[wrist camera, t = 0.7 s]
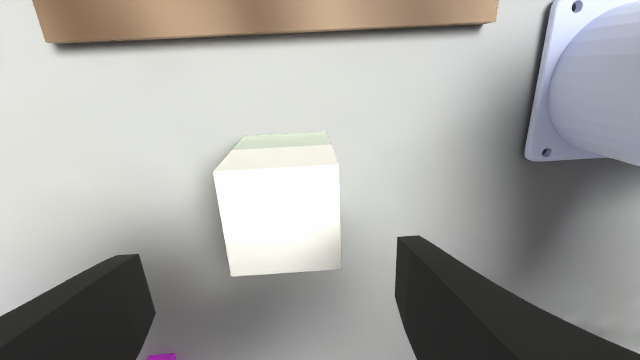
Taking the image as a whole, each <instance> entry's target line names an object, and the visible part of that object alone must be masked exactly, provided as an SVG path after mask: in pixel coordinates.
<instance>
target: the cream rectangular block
mask: <svg viewBox="0 0 640 360" xmlns="http://www.w3.org/2000/svg"><path fill="white" fill-rule="evenodd" d="M213 175H214V181H215V187H216V192H217V198H218V204H219V210H220V216H221V221H222V227H223V233H224V239H225V244H226V250H227V256H228V262H229V268H230V273H231V277H234V276H248V275H263V274H278V273H293V272H308V271H322V270H337V269H341V235H340V199H339V164H338V161H337V158H336V156H335V153H334V150H333V147H332V144H331V141H330V138H329V135H328V132H327V131H321V132H303V133H285V134H267V135H249V136H243V137H242V139H241V140H240V141H239V142H238V143H237V144H236V146H235V147H234V148H233V149H232V150H231V151H230V153H229V154H228V155H227V156H226V157H225V158H224V159H223V161H222V162H221V163H220V164H219V165H218V166H217V168H216V169H215V170H214V171H213Z"/></svg>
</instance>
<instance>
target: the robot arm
mask: <svg viewBox="0 0 640 360" xmlns="http://www.w3.org/2000/svg"><path fill="white" fill-rule="evenodd" d="M573 3H575V4H576V9H575V11H574V12H573V11H572V5H573ZM545 148H546V152H545V153H544V154H543V155H542V152H543V150H544V149H545ZM524 155H525V157H526V158H527V159H528V160H530V161H534V162H539V161H556V160H573V159H590V158H607V157H609V158H613V159H616V160H619V161H623V162H626V163H629V164H633V165H636V166H639V167H640V0H555V1H554V3H553V4H552V6H551V10H550V15H549V20H548V26H547V31H546V37H545V42H544V48H543V53H542V59H541V64H540V70H539V75H538V81H537V86H536V91H535V97H534V102H533V108H532V113H531V119H530V124H529V130H528V135H527V141H526V146H525V152H524ZM395 298H396V302H397V305H398V309H399V313H400V316H401V319H402V323H403V326H404V329H405V332H406V334H407V337H408V339H409V342H410V344H411V346H412V349H413V351H414V353H415V356H416V358H417V360H640V354H638V353H636V352H633V351H631V350H629V349H626V348H624V347H621V346H619V345H617V344H614V343H612V342H610V341H607V340H605V339H603V338H601V337H598V336H596V335H594V334H592V333H590V332H587V331H585V330H583V329H581V328H579V327H577V326H575V325H573V324H571V323H569V322H566V321H564V320H562V319H560V318H558V317H556V316H554V315H552V314H550V313H548V312H546V311H544V310H542V309H540V308H538V307H536V306H534V305H533V304H531V303H529V302H527V301H525V300H523V299H521V298H520V297H518V296H516V295H514V294H513V293H511V292H509V291H507V290H506V289H504V288H502V287H500V286H499V285H497V284H495V283H494V282H492V281H490V280H489V279H487V278H485V277H484V276H482V275H480V274H479V273H477V272H475V271H474V270H472V269H471V268H469V267H468V266H466V265H464V264H463V263H461V262H460V261H458V260H457V259H455V258H454V257H452V256H451V255H449V254H448V253H446V252H444V251H443V250H441V249H440V248H438V247H437V246H435V245H434V244H432V243H431V242H429V241H428V240H426V239H424V238H422V237H421V236H404V237H397V259H396V282H395ZM155 314H156V313H155V309H154V306H153V302H152V299H151V295H150V292H149V288H148V285H147V281H146V278H145V274H144V271H143V267H142V264H141V260H140V257H139V254H132V255H117V256H114V257H112V258H109V259H107V260H105V261H103V262H101V263H99V264H97V265H95V266H93V267H91V268H89V269H87V270H85V271H83V272H82V273H80V274H78V275H76V276H74V277H72V278H71V279H69V280H67V281H65V282H63V283H61V284H60V285H58V286H56V287H54V288H52V289H51V290H49V291H47V292H45V293H43V294H41V295H40V296H38V297H36V298H34V299H32V300H31V301H29V302H27V303H25V304H23V305H21V306H19V307H18V308H16V309H14V310H12V311H10V312H8V313H6V314H4V315H2V316H0V360H136V358H137V356H138V354H139V353H140V351H141V349H142V346H143V344H144V342H145V339H146V337H147V334H148V332H149V329H150V327H151V324H152V321H153V319H154V316H155Z"/></svg>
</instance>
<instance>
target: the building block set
mask: <svg viewBox="0 0 640 360" xmlns="http://www.w3.org/2000/svg"><path fill="white" fill-rule="evenodd" d="M147 360H176V357H175V354H174V353H171V354H161V355H151V356H148V358H147Z"/></svg>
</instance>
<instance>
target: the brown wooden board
mask: <svg viewBox="0 0 640 360" xmlns="http://www.w3.org/2000/svg"><path fill="white" fill-rule="evenodd" d="M32 1H33V4H34V7H35V10H36V13H37V16H38V20H39V23H40V26H41V29H42V32H43V35H44V38H45V42H47V43H59V44H70V43H91V42H112V41H134V40H155V39H176V38H198V37H219V36H241V35H262V34H283V33H305V32H326V31H348V30H369V29H390V28H412V27H433V26H455V25H476V24H487V23H491V22H495V21H496V17H497V9H498V2H499V0H32Z"/></svg>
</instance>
